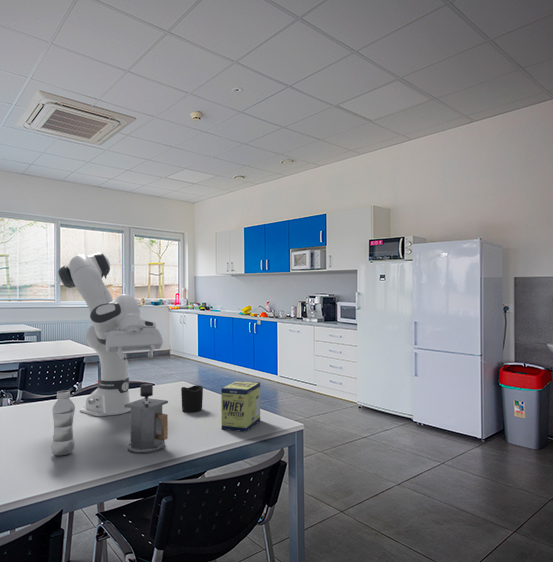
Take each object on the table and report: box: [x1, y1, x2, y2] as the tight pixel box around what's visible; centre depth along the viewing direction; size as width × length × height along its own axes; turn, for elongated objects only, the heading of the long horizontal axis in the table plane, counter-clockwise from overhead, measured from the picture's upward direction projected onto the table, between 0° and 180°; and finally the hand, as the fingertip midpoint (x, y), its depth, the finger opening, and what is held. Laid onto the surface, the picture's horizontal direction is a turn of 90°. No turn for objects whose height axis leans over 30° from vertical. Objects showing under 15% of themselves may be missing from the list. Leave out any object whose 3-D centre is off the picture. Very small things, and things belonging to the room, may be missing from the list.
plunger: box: [139, 383, 154, 404], centre depth 144 cm, size 8×8×18 cm
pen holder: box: [180, 384, 204, 414], centre depth 189 cm, size 9×9×10 cm
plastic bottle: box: [51, 390, 76, 457], centre depth 138 cm, size 6×7×20 cm
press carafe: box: [124, 397, 169, 455], centre depth 144 cm, size 14×12×15 cm
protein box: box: [220, 380, 261, 432], centre depth 168 cm, size 10×16×16 cm
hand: (137, 358), depth 156 cm, fingers open, 8 cm apart
